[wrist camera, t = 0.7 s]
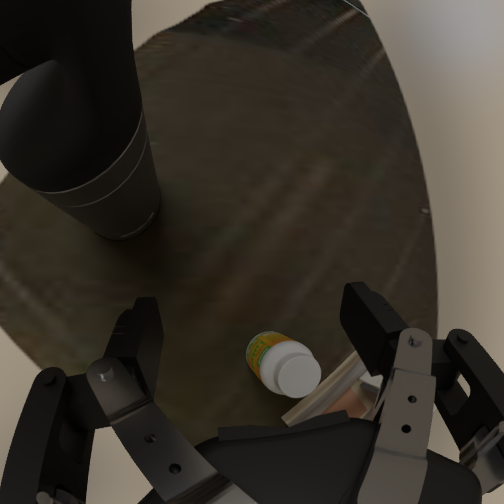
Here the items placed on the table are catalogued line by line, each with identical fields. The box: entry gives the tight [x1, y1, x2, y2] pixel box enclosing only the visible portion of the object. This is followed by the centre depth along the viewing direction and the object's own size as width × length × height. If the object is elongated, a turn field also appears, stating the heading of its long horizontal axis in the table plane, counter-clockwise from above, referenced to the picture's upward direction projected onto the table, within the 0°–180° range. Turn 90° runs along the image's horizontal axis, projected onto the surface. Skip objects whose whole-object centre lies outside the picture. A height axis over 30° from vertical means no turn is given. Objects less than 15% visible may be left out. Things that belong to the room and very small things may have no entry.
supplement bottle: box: [246, 331, 321, 398], centre depth 27 cm, size 5×5×10 cm
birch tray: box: [281, 350, 374, 427], centre depth 32 cm, size 10×18×3 cm, turn 128°
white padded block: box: [357, 370, 437, 413], centre depth 28 cm, size 6×5×10 cm
